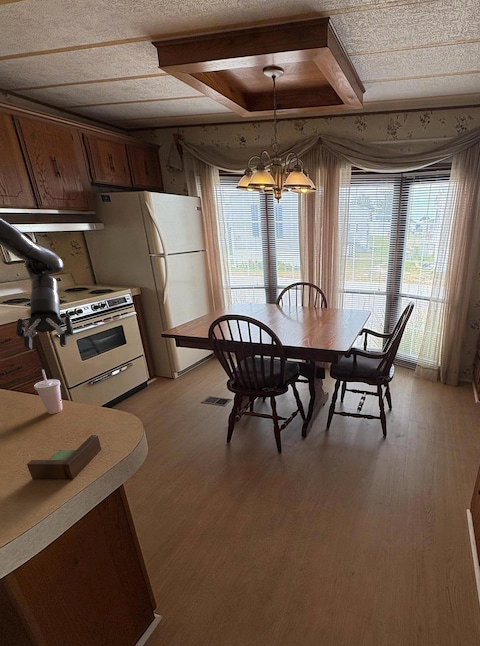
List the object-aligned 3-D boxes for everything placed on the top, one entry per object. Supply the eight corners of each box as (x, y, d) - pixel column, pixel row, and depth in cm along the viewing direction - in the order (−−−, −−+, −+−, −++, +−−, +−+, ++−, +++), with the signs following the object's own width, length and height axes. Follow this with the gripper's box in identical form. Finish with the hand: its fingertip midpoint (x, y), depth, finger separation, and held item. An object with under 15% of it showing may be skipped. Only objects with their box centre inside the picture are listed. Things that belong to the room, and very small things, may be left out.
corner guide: (27, 479, 80) (21, 464, 78) (62, 449, 91) (57, 434, 89) (73, 479, 80) (68, 464, 79) (101, 449, 91) (97, 434, 90)
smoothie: (65, 403, 113) (54, 364, 107) (69, 411, 109) (57, 370, 103) (41, 410, 108) (27, 369, 103) (44, 418, 104) (30, 376, 99)
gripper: (12, 298, 108) (12, 344, 103) (67, 296, 114) (69, 339, 108) (23, 311, 114) (23, 355, 109) (74, 309, 120) (76, 350, 115)
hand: (46, 347), depth 109 cm, fingers open, 8 cm apart
